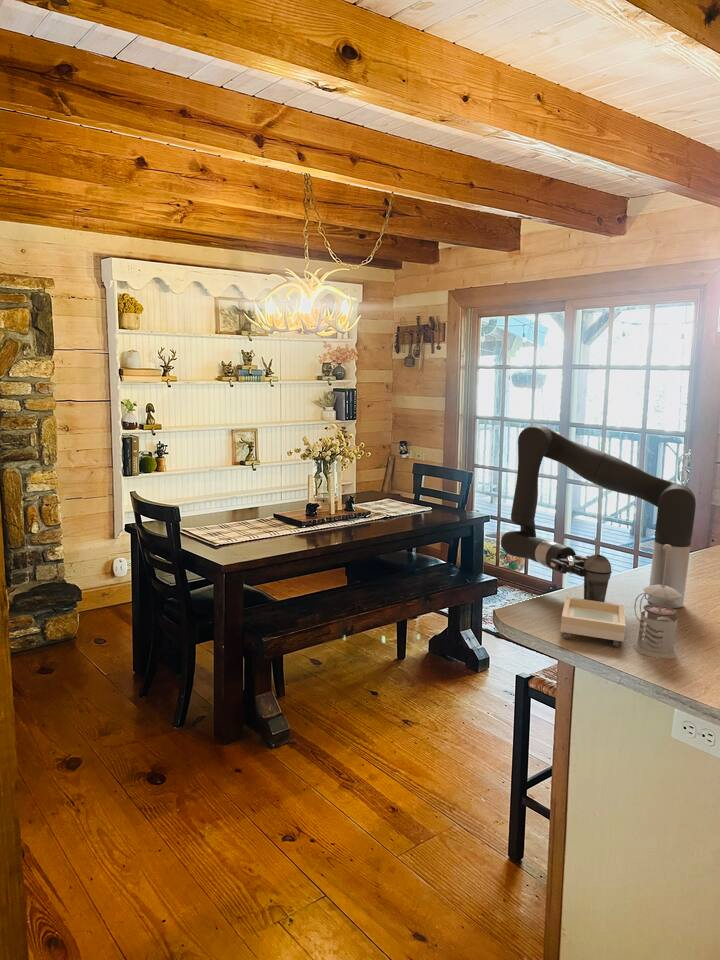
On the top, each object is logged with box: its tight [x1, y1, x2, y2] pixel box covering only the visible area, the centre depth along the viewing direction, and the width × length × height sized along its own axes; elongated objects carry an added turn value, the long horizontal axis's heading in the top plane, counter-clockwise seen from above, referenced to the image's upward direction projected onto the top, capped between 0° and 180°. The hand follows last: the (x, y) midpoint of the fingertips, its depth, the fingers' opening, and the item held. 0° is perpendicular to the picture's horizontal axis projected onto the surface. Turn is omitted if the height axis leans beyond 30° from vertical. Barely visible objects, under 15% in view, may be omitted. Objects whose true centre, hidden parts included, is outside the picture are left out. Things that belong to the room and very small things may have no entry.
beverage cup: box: [583, 537, 613, 602], centre depth 186 cm, size 7×7×20 cm
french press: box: [632, 544, 682, 659], centre depth 162 cm, size 10×12×25 cm
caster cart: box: [559, 596, 626, 648], centre depth 171 cm, size 16×14×6 cm
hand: (596, 571), depth 186 cm, fingers open, 8 cm apart
